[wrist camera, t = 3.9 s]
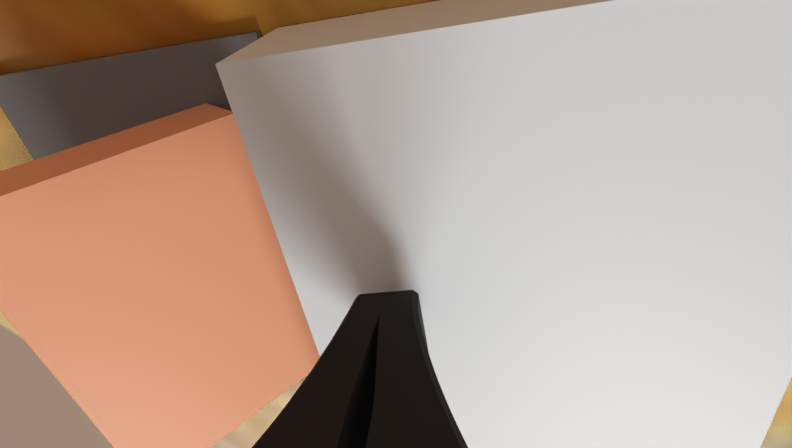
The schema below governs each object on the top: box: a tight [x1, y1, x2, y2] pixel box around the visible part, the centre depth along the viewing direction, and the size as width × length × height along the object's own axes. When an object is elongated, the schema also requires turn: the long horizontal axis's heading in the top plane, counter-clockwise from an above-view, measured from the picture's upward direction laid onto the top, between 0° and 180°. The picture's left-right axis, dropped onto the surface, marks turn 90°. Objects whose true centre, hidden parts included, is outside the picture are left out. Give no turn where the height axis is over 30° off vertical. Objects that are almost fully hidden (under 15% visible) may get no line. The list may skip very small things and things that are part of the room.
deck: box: [215, 0, 792, 448], centre depth 14 cm, size 12×18×4 cm, turn 9°
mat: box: [0, 31, 261, 160], centre depth 15 cm, size 8×12×1 cm, turn 9°
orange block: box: [0, 103, 320, 448], centre depth 13 cm, size 6×9×2 cm
